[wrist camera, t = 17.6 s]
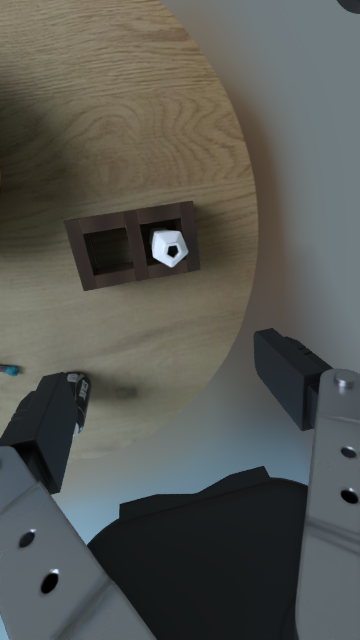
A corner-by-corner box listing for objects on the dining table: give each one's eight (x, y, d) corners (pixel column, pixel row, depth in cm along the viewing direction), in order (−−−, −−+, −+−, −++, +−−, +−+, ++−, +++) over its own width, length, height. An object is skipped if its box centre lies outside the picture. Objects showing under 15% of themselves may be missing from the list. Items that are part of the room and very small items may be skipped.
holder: (184, 201, 45) (192, 200, 40) (192, 262, 49) (200, 269, 44) (71, 219, 43) (63, 221, 38) (88, 281, 47) (83, 291, 42)
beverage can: (87, 401, 56) (77, 449, 45) (51, 395, 54) (31, 443, 43) (95, 373, 54) (87, 415, 43) (58, 365, 52) (40, 407, 41)
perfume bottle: (178, 232, 47) (200, 243, 33) (165, 256, 48) (181, 275, 34) (154, 217, 45) (166, 222, 32) (141, 242, 46) (148, 257, 33)
